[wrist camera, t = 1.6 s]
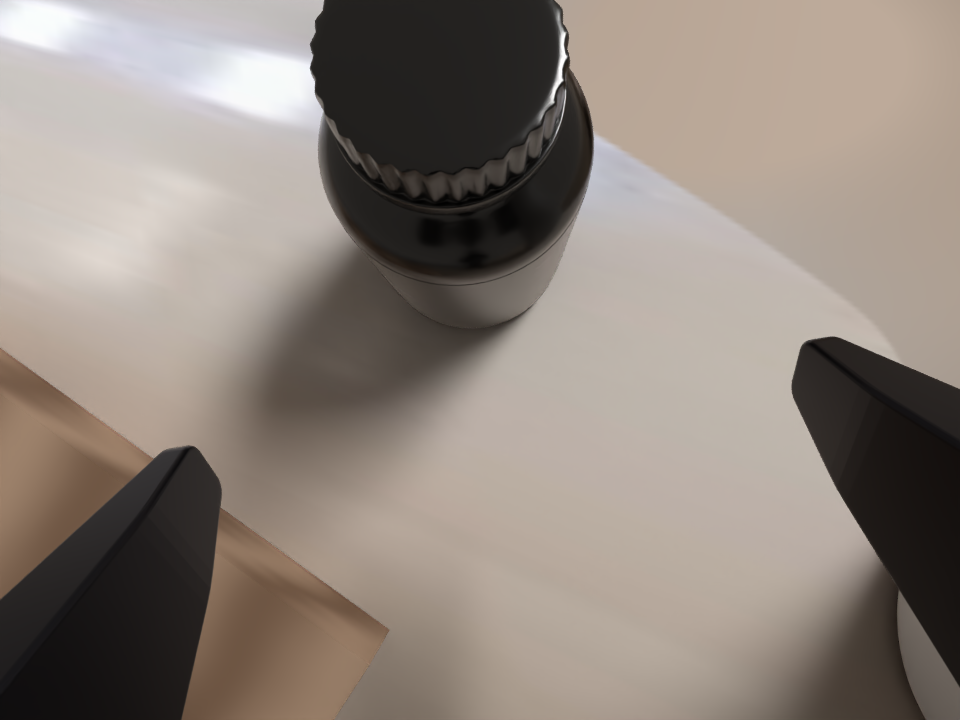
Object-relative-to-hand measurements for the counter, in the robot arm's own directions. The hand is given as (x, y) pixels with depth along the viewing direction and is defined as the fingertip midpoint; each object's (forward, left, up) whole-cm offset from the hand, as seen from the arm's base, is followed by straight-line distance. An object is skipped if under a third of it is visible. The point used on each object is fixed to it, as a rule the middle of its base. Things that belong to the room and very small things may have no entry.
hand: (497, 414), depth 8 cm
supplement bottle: (+6, -2, -13) cm, 15 cm away
